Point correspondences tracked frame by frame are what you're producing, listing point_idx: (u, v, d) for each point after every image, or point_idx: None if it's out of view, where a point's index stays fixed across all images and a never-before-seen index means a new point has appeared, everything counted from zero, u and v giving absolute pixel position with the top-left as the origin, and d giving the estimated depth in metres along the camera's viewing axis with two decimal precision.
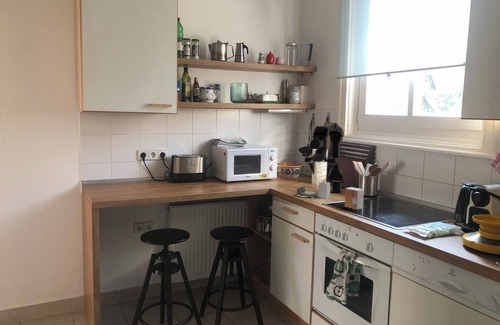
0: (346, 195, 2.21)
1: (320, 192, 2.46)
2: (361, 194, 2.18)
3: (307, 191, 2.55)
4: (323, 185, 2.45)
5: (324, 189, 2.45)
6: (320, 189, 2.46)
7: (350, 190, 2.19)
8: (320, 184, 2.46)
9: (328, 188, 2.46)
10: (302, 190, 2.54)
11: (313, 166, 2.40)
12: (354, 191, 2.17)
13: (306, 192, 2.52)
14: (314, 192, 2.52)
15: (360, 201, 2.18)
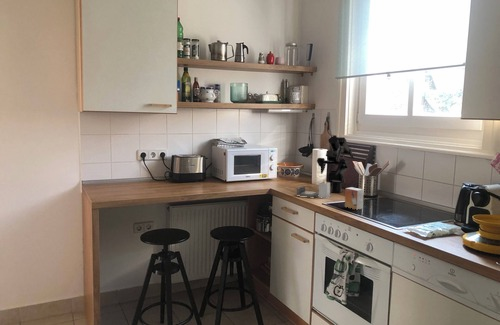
0: (346, 195, 2.21)
1: (320, 192, 2.46)
2: (361, 194, 2.18)
3: (307, 191, 2.55)
4: (323, 185, 2.45)
5: (324, 189, 2.45)
6: (320, 189, 2.46)
7: (350, 190, 2.19)
8: (320, 184, 2.46)
9: (328, 188, 2.46)
10: (302, 190, 2.54)
11: (323, 167, 2.56)
12: (354, 191, 2.17)
13: (306, 192, 2.52)
14: (314, 192, 2.52)
15: (360, 201, 2.18)
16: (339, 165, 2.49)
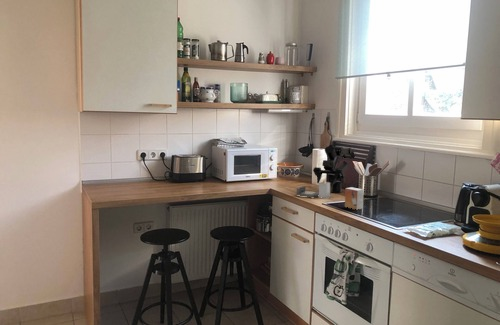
0: (346, 195, 2.21)
1: (320, 192, 2.46)
2: (361, 194, 2.18)
3: (307, 191, 2.55)
4: (323, 185, 2.45)
5: (324, 189, 2.45)
6: (320, 189, 2.46)
7: (350, 190, 2.19)
8: (320, 184, 2.46)
9: (328, 188, 2.46)
10: (302, 190, 2.54)
11: (319, 177, 2.52)
12: (354, 191, 2.17)
13: (306, 192, 2.52)
14: (314, 192, 2.52)
15: (360, 201, 2.18)
16: (335, 175, 2.45)
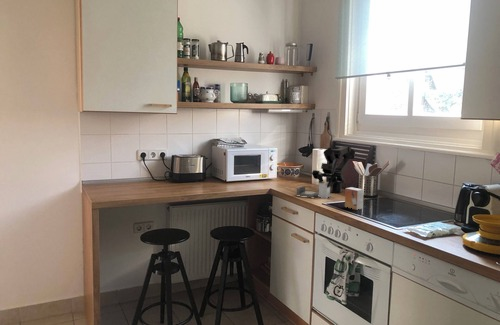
0: (346, 195, 2.21)
1: (320, 192, 2.46)
2: (361, 194, 2.18)
3: (307, 191, 2.55)
4: (323, 185, 2.45)
5: (324, 189, 2.45)
6: (320, 189, 2.46)
7: (350, 190, 2.19)
8: (320, 184, 2.46)
9: (328, 188, 2.46)
10: (302, 190, 2.54)
11: (321, 180, 2.50)
12: (354, 191, 2.17)
13: (306, 192, 2.52)
14: (314, 192, 2.52)
15: (360, 201, 2.18)
16: (331, 178, 2.45)
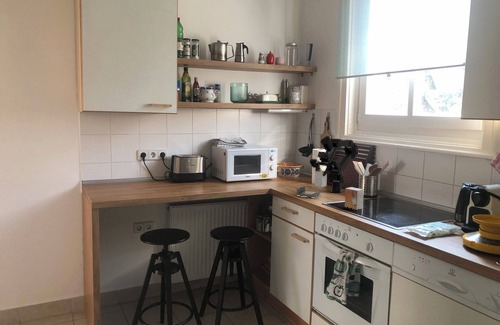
0: (346, 195, 2.21)
1: (316, 180, 2.46)
2: (361, 194, 2.18)
3: (307, 191, 2.55)
4: (319, 173, 2.44)
5: (320, 177, 2.44)
6: (316, 177, 2.46)
7: (350, 190, 2.19)
8: (316, 172, 2.46)
9: (325, 176, 2.46)
10: (302, 190, 2.54)
11: (318, 169, 2.50)
12: (354, 191, 2.17)
13: (306, 192, 2.52)
14: (314, 192, 2.52)
15: (360, 201, 2.18)
16: (327, 166, 2.45)
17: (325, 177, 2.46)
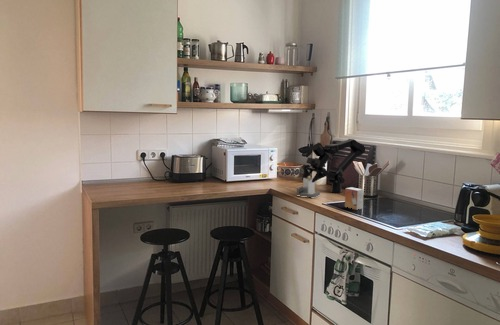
0: (346, 195, 2.21)
1: (304, 187, 2.51)
2: (361, 194, 2.18)
3: None
4: (306, 180, 2.49)
5: (306, 184, 2.49)
6: (304, 184, 2.51)
7: (350, 190, 2.19)
8: (304, 179, 2.51)
9: (312, 183, 2.49)
10: (302, 190, 2.54)
11: (306, 174, 2.56)
12: (354, 191, 2.17)
13: None
14: None
15: (360, 201, 2.18)
16: (317, 173, 2.46)
17: (313, 184, 2.50)
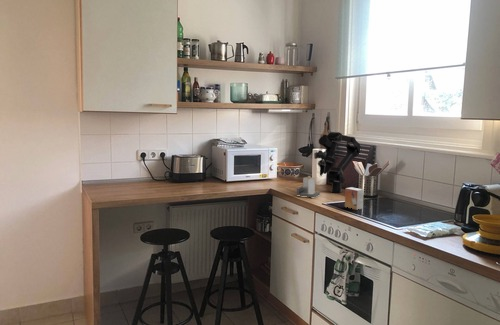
0: (346, 195, 2.21)
1: (304, 187, 2.51)
2: (361, 194, 2.18)
3: None
4: (306, 180, 2.49)
5: (306, 184, 2.49)
6: (304, 184, 2.51)
7: (350, 190, 2.19)
8: (304, 179, 2.51)
9: (312, 183, 2.49)
10: (302, 190, 2.54)
11: (323, 169, 2.58)
12: (354, 191, 2.17)
13: None
14: None
15: (360, 201, 2.18)
16: (325, 163, 2.47)
17: (313, 184, 2.50)
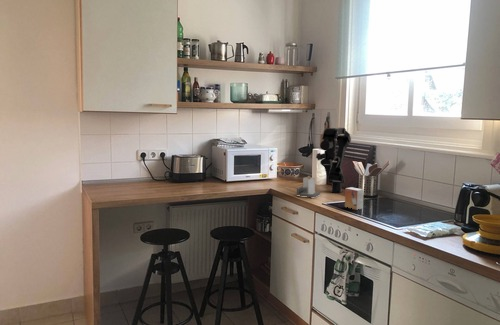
0: (346, 195, 2.21)
1: (304, 187, 2.51)
2: (361, 194, 2.18)
3: None
4: (306, 180, 2.49)
5: (306, 184, 2.49)
6: (304, 184, 2.51)
7: (350, 190, 2.19)
8: (304, 179, 2.51)
9: (312, 183, 2.49)
10: (302, 190, 2.54)
11: (333, 166, 2.55)
12: (354, 191, 2.17)
13: None
14: None
15: (360, 201, 2.18)
16: None
17: (313, 184, 2.50)
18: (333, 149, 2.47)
